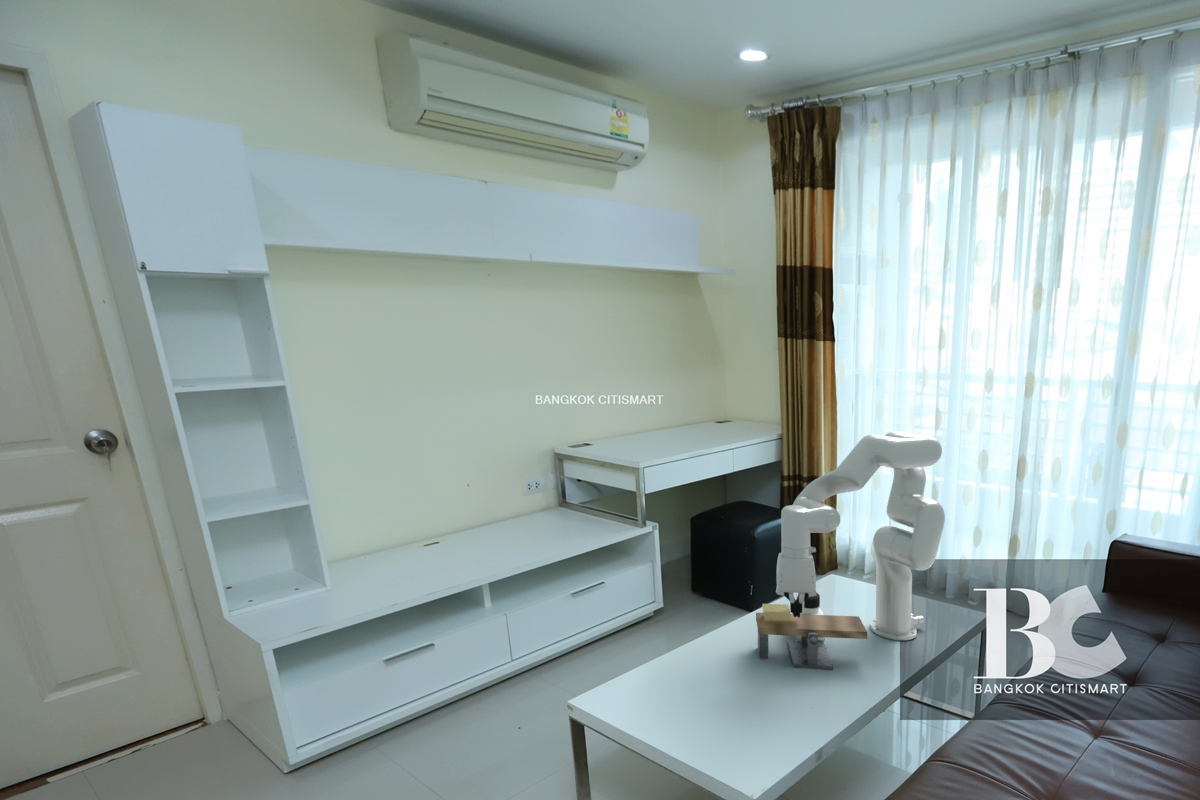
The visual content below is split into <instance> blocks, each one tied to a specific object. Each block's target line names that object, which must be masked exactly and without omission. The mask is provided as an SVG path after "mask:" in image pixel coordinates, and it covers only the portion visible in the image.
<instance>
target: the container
mask: <svg viewBox="0 0 1200 800" xmlns="http://www.w3.org/2000/svg"><path fill="white" fill-rule="evenodd" d="M816 593H817V595H816V596H811V597H808V598H807V599H806V600H805V601H804V602H803V603H802V613H803V614H810V615H825V614H824V612H823V611H822V609H821V605H820V604H821V602H820V601H821V600H820V599H821V598H820V597H821V596H820V594H819V592H817V591H816ZM797 598H798V593H796V599H797ZM791 614H793V613H791ZM800 614H801V613H800ZM795 637H796V639H797V641H801V636H795ZM825 638H826V637H818V641H825Z"/></svg>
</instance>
